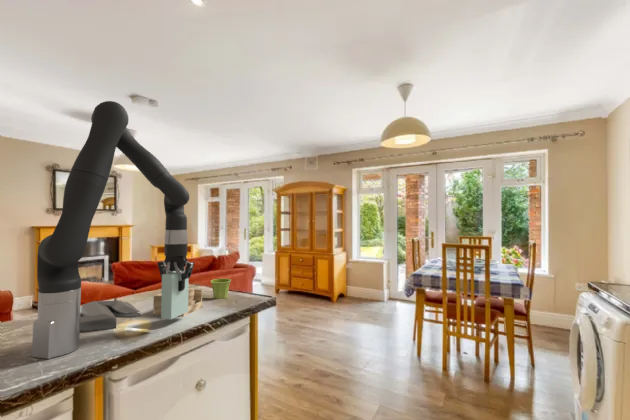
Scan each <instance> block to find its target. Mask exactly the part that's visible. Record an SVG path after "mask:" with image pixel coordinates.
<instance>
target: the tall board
mask: <svg viewBox="0 0 630 420" xmlns="http://www.w3.org/2000/svg"><path fill="white" fill-rule="evenodd" d="M189 280H190V278H187V279H185V289H184V290H183V291H178V281H179V279H178V274H176V271H175V272H172V273H167V274H163V275H162V278H161V293H162V300H161V315H160V317H161V318H160V319H162V320H163V319H164V320H174V319H175V318H177V317H181V316H180V315H182V314H184V313H186V312H188V288H189V285H190V284H189Z"/></svg>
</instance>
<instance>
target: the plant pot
mask: <svg viewBox="0 0 630 420" xmlns="http://www.w3.org/2000/svg"><path fill="white" fill-rule="evenodd" d="M231 282H232V279H230V278H216V279H212V280H210V284H211V287H212V292H213V294H212V295H213V299H215V300H217V299H218V300H227V299H228V295H229V291H230V290H229V288H230V284H231Z"/></svg>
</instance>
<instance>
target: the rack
mask: <svg viewBox="0 0 630 420" xmlns="http://www.w3.org/2000/svg"><path fill="white" fill-rule="evenodd" d="M193 289H194V300H196V304H193V305H191V306H189V307H188V312H186V313H184V314H182V315H180V316H179V317H181V318H182V317H183V318H184V316H187V315H189V314H191V313H193V312H196V311H198V310H200V309H202V308H203V289H195V288H193ZM161 300H162V292H161V293H159V294H158V293H157V294H155V295H153V307H152V308H153V309H152V310H153V311H152V312H153V313H152V314H153V315H158V316H161Z"/></svg>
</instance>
